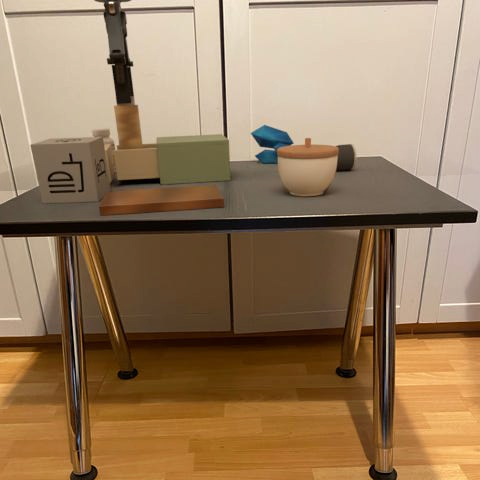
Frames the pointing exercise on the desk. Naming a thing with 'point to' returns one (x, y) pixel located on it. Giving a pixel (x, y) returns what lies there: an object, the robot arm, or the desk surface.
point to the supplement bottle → (105, 139)
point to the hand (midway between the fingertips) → (126, 102)
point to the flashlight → (346, 157)
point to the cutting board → (161, 200)
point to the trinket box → (307, 167)
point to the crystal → (270, 143)
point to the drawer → (133, 162)
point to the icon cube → (71, 169)
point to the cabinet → (193, 159)
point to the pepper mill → (128, 125)
